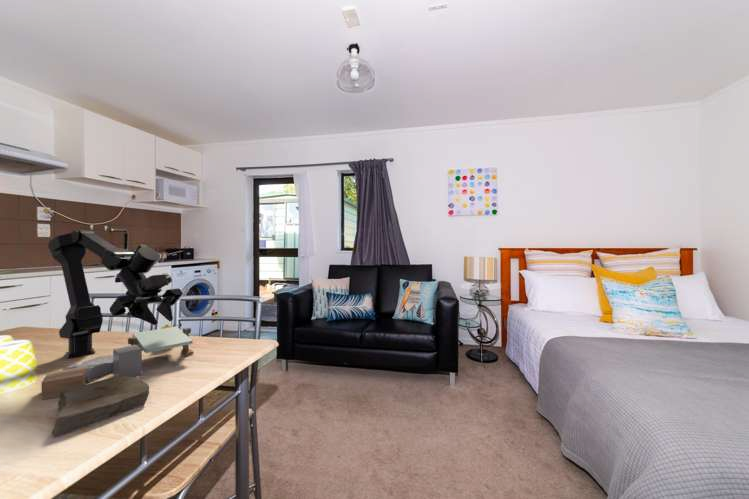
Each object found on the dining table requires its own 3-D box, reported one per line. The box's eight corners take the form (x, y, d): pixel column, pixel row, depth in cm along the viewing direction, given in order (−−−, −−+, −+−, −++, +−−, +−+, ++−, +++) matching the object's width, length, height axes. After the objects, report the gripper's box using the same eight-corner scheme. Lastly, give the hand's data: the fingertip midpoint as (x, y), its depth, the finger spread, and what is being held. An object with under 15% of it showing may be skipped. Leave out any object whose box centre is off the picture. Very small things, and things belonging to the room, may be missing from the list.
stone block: (56, 388, 82) (88, 382, 81) (53, 369, 82) (86, 363, 81) (101, 371, 94) (130, 366, 93) (99, 355, 94) (128, 350, 93)
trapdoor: (132, 348, 98) (132, 333, 97) (175, 340, 107) (176, 326, 106) (145, 366, 88) (145, 349, 88) (191, 356, 97) (192, 340, 97)
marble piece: (54, 440, 57) (54, 417, 57) (35, 416, 66) (35, 396, 66) (157, 403, 71) (157, 384, 71) (131, 387, 79) (131, 370, 79)
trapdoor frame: (125, 364, 93) (125, 336, 93) (187, 351, 106) (188, 326, 106) (129, 369, 90) (129, 340, 90) (193, 354, 103) (193, 328, 103)
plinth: (47, 389, 77) (47, 373, 77) (85, 381, 81) (85, 366, 81) (41, 400, 72) (41, 382, 72) (83, 391, 76) (83, 375, 76)
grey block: (113, 376, 85) (113, 349, 84) (135, 370, 89) (135, 344, 88) (118, 381, 82) (118, 353, 81) (141, 375, 86) (141, 348, 85)
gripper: (117, 266, 85) (146, 310, 81) (178, 263, 102) (205, 299, 99) (96, 294, 87) (125, 337, 84) (160, 286, 105) (185, 322, 102)
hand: (164, 322), depth 92 cm, fingers open, 4 cm apart
